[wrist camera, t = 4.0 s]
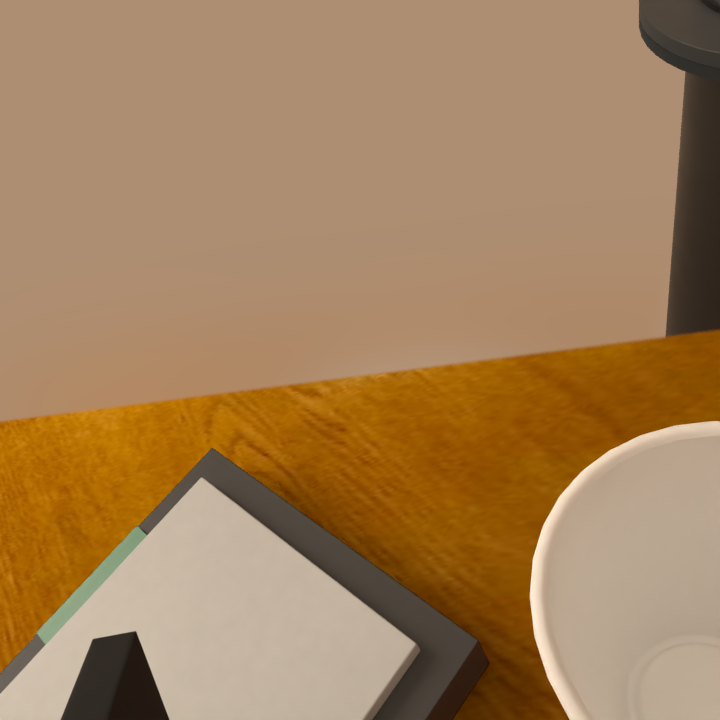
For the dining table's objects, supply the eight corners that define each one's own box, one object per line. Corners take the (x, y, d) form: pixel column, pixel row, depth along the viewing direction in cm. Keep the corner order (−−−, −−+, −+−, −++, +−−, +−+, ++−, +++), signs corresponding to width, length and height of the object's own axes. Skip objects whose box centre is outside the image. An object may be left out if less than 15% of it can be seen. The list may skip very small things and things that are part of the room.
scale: (235, 474, 36) (204, 438, 33) (489, 663, 27) (475, 633, 24) (-11, 747, 30) (-72, 729, 28) (201, 1105, 21) (140, 1130, 18)
